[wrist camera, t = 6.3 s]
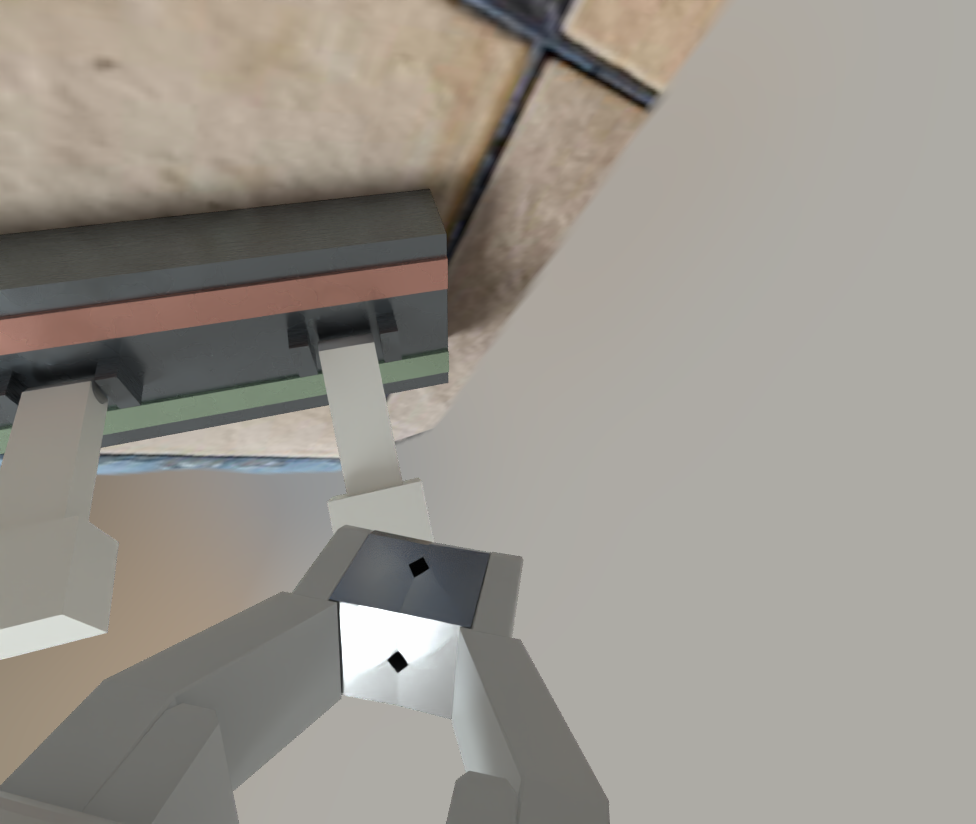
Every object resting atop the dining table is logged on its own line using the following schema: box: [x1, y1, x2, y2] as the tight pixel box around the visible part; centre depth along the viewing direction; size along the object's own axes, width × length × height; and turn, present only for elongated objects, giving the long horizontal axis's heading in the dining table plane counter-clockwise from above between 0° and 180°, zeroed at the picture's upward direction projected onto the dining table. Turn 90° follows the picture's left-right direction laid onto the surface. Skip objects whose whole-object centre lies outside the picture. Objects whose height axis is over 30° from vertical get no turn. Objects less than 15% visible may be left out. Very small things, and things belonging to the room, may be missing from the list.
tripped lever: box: [0, 377, 119, 660], centre depth 23 cm, size 3×5×13 cm, turn 86°
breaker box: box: [0, 189, 449, 454], centre depth 28 cm, size 12×26×5 cm, turn 86°
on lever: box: [317, 333, 434, 542], centre depth 28 cm, size 3×5×13 cm
